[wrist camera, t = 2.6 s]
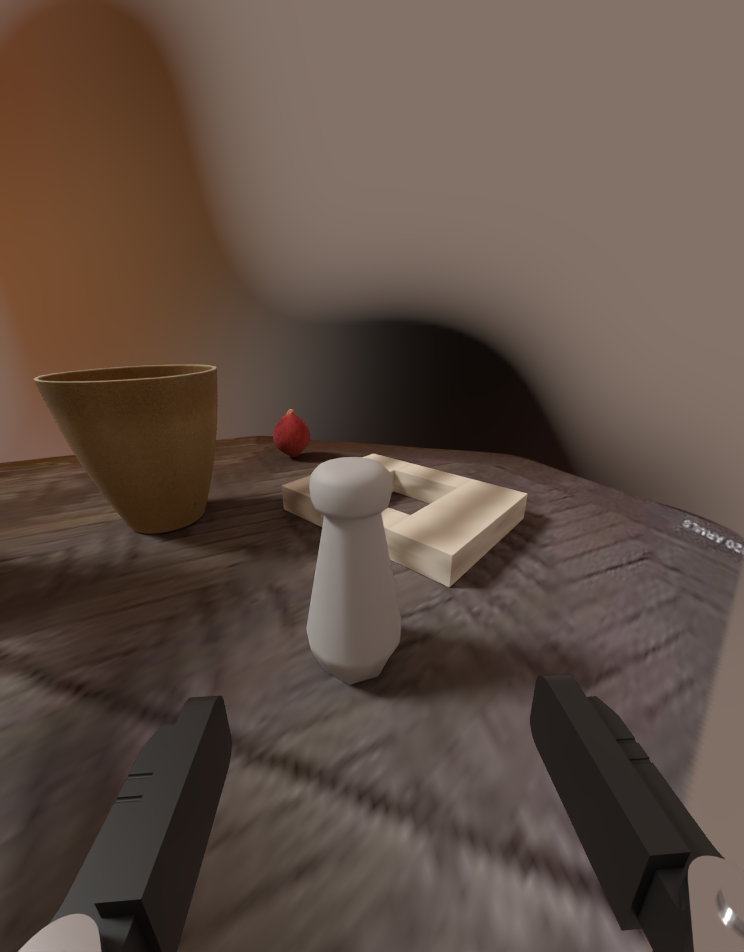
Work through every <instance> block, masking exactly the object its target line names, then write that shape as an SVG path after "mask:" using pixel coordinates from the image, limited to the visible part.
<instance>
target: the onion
mask: <svg viewBox="0 0 744 952" xmlns="http://www.w3.org/2000/svg"><path fill="white" fill-rule="evenodd" d="M273 439H274V443H275V445H276V447H277V448H278V449H279V450H280V451H282V452H283V453H285V454H287V455H289V456H290V457H292V458H294V457H297V456H298V455H299V454H300V453H301V452H302V451H303V450H304V449H305V448H306V447H307V445H308V444H309V441H310V433H309V429H308V427H307V425H306V424H305V422H303V420H302V419H300V418H299V417H297V416H296V415H295V414H294V410H293V409H291V410H289V411H288V412H287V413H286V414H285V415H284V416H283V417H282V418H281V419H280V420H279V421H278V422H277V424H276V425H275V428H274V431H273Z"/></svg>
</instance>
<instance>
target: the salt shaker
mask: <svg viewBox="0 0 744 952" xmlns="http://www.w3.org/2000/svg"><path fill="white" fill-rule="evenodd" d="M309 489H310V497H311V500H312V503H313V505H314V507H315V510H316V511H317V512H319V513H321V514H323V515H324V519H323V526H322V533H321V539H320V545H319V552H318V558H317V565H316V571H315V577H314V584H313V590H312V596H311V603H310V609H309V615H308V622H307V628H306V630H307V634H308V639H309V643H310V647H311V651H312V653H313V654H314V656H315V657H316V659H317V660H318V661H319V663H320V664H321V666H322V667H323V669H324V670H325V671H326V672H328V673H329V674H331V675H333V676H335V677H336V678H338V679H340V680H342V681H343V682H345V683H347V684H348V685H351V684H354V683H358V682H361V681H364V680H368V679H371V678H375V677H378V676H379V674H380V673H381V671H382V669H383V667H384V666H385V664H386V662H387V660H388V659H389V657H390V656H391V654H392V653H393V652H394V650H395V649H396V648H397V646H398V645H399V641H400V635H401V623H402V621H401V616H400V610H399V605H398V600H397V594H396V589H395V584H394V578H393V573H392V568H391V562H390V557H389V551H388V546H387V541H386V535H385V530H384V525H383V519H382V514H381V512H383V511H384V510H385V509H387V508H388V505H389V503H390V498H391V491H392V480H391V474H390V472H389V471H388V470H387V469H386V468H385V467H384V466H383V465H382V464H381V463H380V462H378V461H375V460H372V459H369V458H359V457H343V458H337V459H332V460H328V461H326V462H323V463H321V464H320V465H319V466H318V467H317V468H316V469H315V470H314V471H313V473H312V474H311V477H310V485H309Z"/></svg>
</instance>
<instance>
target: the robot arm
mask: <svg viewBox="0 0 744 952" xmlns="http://www.w3.org/2000/svg"><path fill="white" fill-rule="evenodd" d="M530 726H531V731H532V736H533V739H534V742H535V745H536V747H537V749H538V751H539V754H540V756H541V758H542V760H543V762H544V764H545V766H546V769H547V771H548V773H549V775H550V777H551V779H552V782H553V784H554V786H555V788H556V790H557V792H558V794H559V797H560V799H561V801H562V803H563V805H564V807H565V809H566V812H567V814H568V816H569V818H570V820H571V822H572V825H573V827H574V829H575V831H576V833H577V835H578V837H579V840H580V842H581V844H582V846H583V848H584V850H585V852H586V855H587V857H588V859H589V861H590V863H591V865H592V868H593V870H594V872H595V874H596V876H597V878H598V880H599V883H600V885H601V887H602V889H603V891H604V893H605V895H606V898H607V900H608V902H609V904H610V906H611V908H612V910H613V913H614V915H615V917H616V919H617V921H618V923H619V926H620V928H621V930H632V929H643V931H644V933H645V935H646V937H647V939H648V941H649V943H650V945H651V947H652V949H653V951H652V952H744V870H743V869H742V868H740V867H738V866H737V865H735V864H733V863H731V862H729V861H727V860H725V859H724V858H723V857H722V856H721V854H720V853H719V852H718V851H717V850H716V849H715V847H714V846H713V845H712V844H711V842H710V841H709V840H708V838H707V837H706V836H705V834H704V833H703V831H702V830H701V829H700V827H699V826H698V824H697V823H696V822H695V820H694V819H693V818H692V816H691V815H690V813H689V812H688V811H687V809H686V808H685V807H684V805H683V804H682V802H681V801H680V800H679V798H678V797H677V796H676V794H675V793H674V791H673V790H672V789H671V787H670V786H669V784H668V783H667V782H666V780H665V779H664V778H663V776H662V775H661V773H660V772H659V771H658V769H657V768H656V767H655V765H654V764H653V763H651V762H650V760H649V757H648V756H647V754H646V753H645V751H644V750H643V749H642V747H641V746H640V744H639V743H636V741H635V738H634V736H633V735H632V733H631V732H630V731H629V729H628V728H627V727H626V725H625V724H624V722H623V721H622V720H621V718H620V717H619V716H618V714H616V713H615V712H614V711H613V710H612V709H610V708H609V707H608V706H607V705H606V704H605V703H603V702H602V701H601V700H600V699H599V698H598V697H596V696H593V697H586V695H585V694H584V692H583V691H582V689H581V688H580V686H579V685H578V683H577V682H576V681H575V679H574V678H573V677H572V676H571V675H569V674H558V675H543V676H538V677H537V680H536V685H535V691H534V697H533V703H532V709H531V715H530ZM231 748H232V741H231V734H230V729H229V724H228V719H227V714H226V710H225V705H224V700H223V698H222V696H208V697H193V698H189V699H188V700H187V701H186V703H185V704H184V706H183V708H182V711H181V713H180V715H179V717H178V719H177V722H176V724H171V725H162V726H161V727H160V728H159V730H158V731H157V732H156V733H155V734H154V735H153V736H152V737H151V739H150V740H149V741H148V742H147V743H146V744H145V745H144V746H143V748H142V749H141V751H140V753H139V755H138V757H137V759H136V761H135V763H134V765H133V767H132V769H131V771H130V773H129V777H128V779H127V780H126V781H125V783H124V784H123V786H122V788H121V790H120V792H119V794H118V796H117V801H116V803H114V804H113V806H112V808H111V810H110V812H109V814H108V816H107V818H106V820H105V822H104V824H103V826H102V828H101V830H100V832H99V834H98V835H97V837H96V839H95V841H94V843H93V845H92V847H91V849H90V851H89V853H88V855H87V857H86V859H85V861H84V863H83V865H82V867H81V869H80V871H79V873H78V875H77V877H76V879H75V881H74V883H73V884H72V886H71V888H70V890H69V892H68V894H67V896H66V898H65V900H64V902H63V903H62V905H61V907H60V909H59V910H58V912H57V913H56V915H55V916H54V918H53V919H52V920H51V922H50V923H49V924H48V925H47V926H46V927H44V928H43V929H42V930H40V931H39V932H38V933H37V934H35V935H34V936H33V937H32V938H31V939H30V940H29V941H28V942H27V943H26V944H25V945H24V946H23V947H22V948H21V949H20V950H19V951H18V952H177V949H178V945H179V942H180V938H181V934H182V931H183V927H184V924H185V920H186V917H187V913H188V910H189V906H190V903H191V899H192V895H193V892H194V888H195V885H196V881H197V878H198V874H199V871H200V867H201V864H202V860H203V857H204V853H205V849H206V846H207V842H208V839H209V835H210V832H211V828H212V825H213V821H214V818H215V814H216V811H217V807H218V803H219V800H220V796H221V793H222V789H223V786H224V782H225V779H226V775H227V772H228V768H229V764H230V758H231Z"/></svg>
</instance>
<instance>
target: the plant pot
mask: <svg viewBox="0 0 744 952" xmlns="http://www.w3.org/2000/svg"><path fill="white" fill-rule="evenodd" d="M34 381H35V383H36V385H37V387H38V389H39V391H40V393H41V395H42V397H43V399H44V401H45V403H46V405H47V407H48V408H49V410H50V412H51V414H52V416H53V418H54V419H55V421H56V423H57V425H58V427H59V429H60V430H61V432H62V434H63V436H64V437H65V439H66V441H67V442H68V444H69V446H70V447H71V449H72V451H73V452H74V454H75V455H76V457H77V458H78V460H79V462H80V463H81V465H82V466H83V468H84V469H85V471H86V472H87V473H88V475H89V476H90V478H91V479H92V480H93V482H94V483H95V485H96V486H97V487H98V489H99V490H100V491H101V493H102V494H103V495H104V497H105V498H106V499H107V500H108V502H109V503H110V504H111V505H112V507H113V508H114V509H115V510H116V511H117V513H118V514H119V515H120V516H121V517H122V518H123V520H124V521H125V522H126V523H127V524H128V525H129V526H130V527H131V528H132V529H133V530H134V531H136V532H139V533H145V534H156V533H164V532H169V531H174V530H177V529H180V528H183V527H186V526H188V525H190V524H192V523H194V522H195V521H197V520H198V519H200V518H201V517H202V515H203V514H204V511H205V507H206V503H207V498H208V493H209V488H210V483H211V477H212V470H213V463H214V455H215V445H216V431H217V368H216V367H214V366H210V365H209V366H208V365H155V366H132V367H116V368H105V369H104V368H103V369H91V370H81V371H71V372H63V373H55V374H49V375H43V376H39V377H36V378H34Z"/></svg>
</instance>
